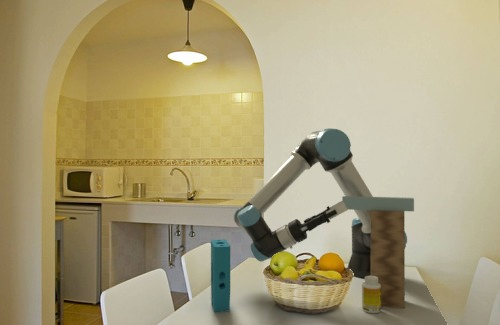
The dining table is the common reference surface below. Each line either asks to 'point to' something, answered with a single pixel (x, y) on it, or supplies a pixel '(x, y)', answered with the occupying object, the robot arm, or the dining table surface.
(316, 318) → the dining table surface
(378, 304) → the supplement bottle
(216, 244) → the block
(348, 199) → the bar
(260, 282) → the dining table surface
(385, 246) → the walnut stand
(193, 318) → the dining table surface
